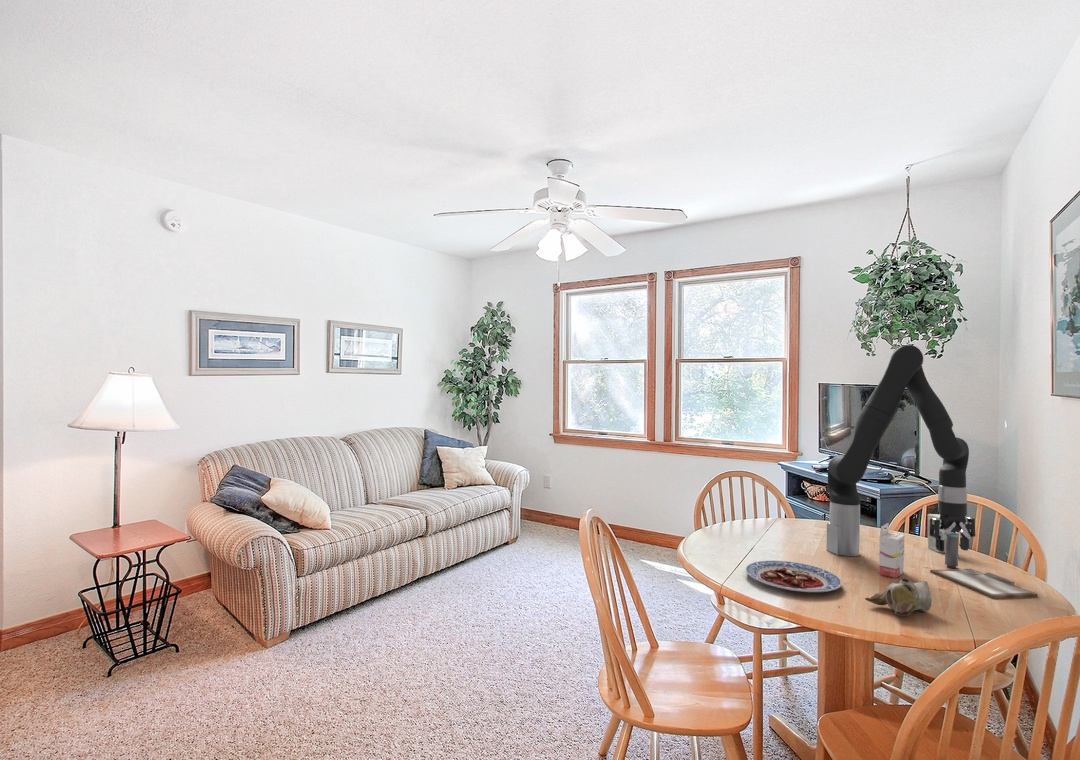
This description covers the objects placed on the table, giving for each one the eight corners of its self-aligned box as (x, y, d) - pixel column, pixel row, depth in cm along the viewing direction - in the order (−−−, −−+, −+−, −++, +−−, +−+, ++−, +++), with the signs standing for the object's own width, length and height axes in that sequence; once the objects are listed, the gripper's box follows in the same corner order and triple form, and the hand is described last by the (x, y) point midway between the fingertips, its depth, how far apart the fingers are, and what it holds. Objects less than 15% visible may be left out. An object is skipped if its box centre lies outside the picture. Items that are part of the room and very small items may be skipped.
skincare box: (951, 553, 194) (952, 518, 194) (939, 553, 194) (939, 517, 194) (938, 547, 201) (939, 513, 201) (926, 547, 201) (927, 513, 201)
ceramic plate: (807, 606, 147) (807, 594, 147) (727, 576, 169) (727, 566, 169) (860, 588, 161) (860, 577, 161) (780, 562, 182) (780, 553, 182)
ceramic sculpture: (945, 582, 141) (896, 590, 137) (946, 616, 141) (898, 625, 137) (908, 568, 151) (861, 575, 147) (909, 600, 151) (863, 608, 147)
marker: (951, 569, 178) (951, 535, 178) (941, 565, 181) (942, 532, 181) (961, 568, 178) (961, 534, 178) (951, 565, 181) (952, 531, 181)
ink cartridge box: (897, 578, 168) (898, 529, 168) (878, 574, 172) (879, 526, 172) (904, 572, 174) (905, 524, 174) (886, 568, 178) (887, 521, 178)
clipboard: (992, 598, 153) (992, 592, 153) (930, 572, 174) (930, 566, 174) (1037, 597, 155) (1037, 590, 155) (970, 571, 176) (970, 565, 176)
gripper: (942, 503, 175) (942, 555, 175) (982, 501, 177) (982, 553, 177) (922, 498, 183) (923, 547, 183) (961, 496, 185) (961, 546, 185)
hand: (952, 550), depth 180 cm, fingers open, 8 cm apart
